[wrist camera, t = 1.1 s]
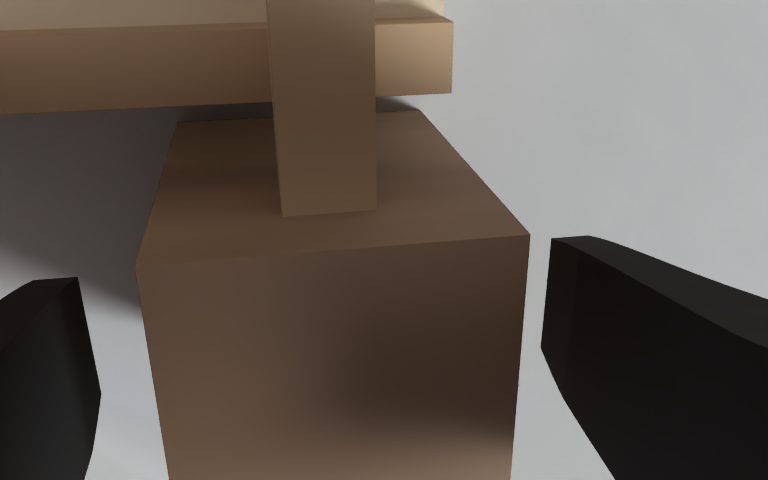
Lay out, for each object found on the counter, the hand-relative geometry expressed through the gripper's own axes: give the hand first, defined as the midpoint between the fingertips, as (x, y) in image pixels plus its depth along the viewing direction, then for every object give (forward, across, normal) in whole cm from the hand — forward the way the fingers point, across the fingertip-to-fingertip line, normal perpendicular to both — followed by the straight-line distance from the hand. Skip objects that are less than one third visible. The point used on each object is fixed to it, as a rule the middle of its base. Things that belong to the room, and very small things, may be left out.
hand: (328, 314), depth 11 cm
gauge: (+4, 0, -2) cm, 4 cm away
